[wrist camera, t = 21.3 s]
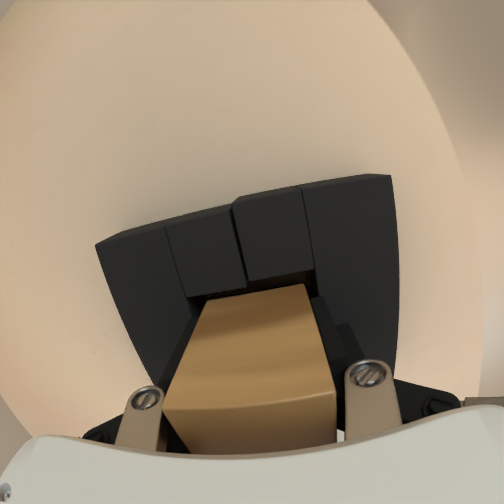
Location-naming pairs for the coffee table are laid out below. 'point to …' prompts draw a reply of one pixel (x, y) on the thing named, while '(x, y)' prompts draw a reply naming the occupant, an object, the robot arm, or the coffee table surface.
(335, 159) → the coffee table surface
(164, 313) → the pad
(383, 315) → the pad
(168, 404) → the key
